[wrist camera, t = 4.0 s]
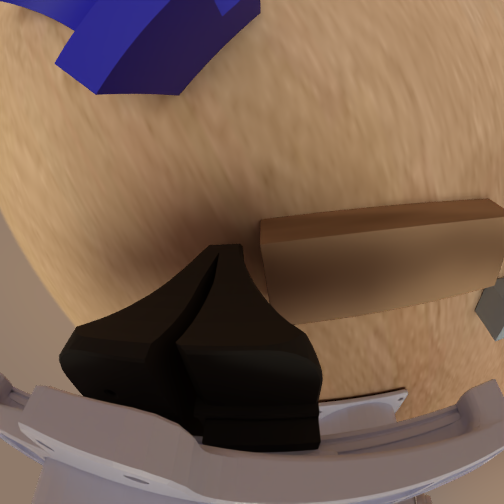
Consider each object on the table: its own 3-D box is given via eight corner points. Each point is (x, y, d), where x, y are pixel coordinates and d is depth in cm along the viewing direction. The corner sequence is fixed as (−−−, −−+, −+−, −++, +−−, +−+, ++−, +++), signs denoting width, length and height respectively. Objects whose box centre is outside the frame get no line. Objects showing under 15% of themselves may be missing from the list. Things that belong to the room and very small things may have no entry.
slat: (472, 260, 12) (494, 285, 10) (272, 290, 14) (273, 326, 12) (484, 196, 10) (513, 215, 8) (260, 216, 12) (260, 244, 10)
